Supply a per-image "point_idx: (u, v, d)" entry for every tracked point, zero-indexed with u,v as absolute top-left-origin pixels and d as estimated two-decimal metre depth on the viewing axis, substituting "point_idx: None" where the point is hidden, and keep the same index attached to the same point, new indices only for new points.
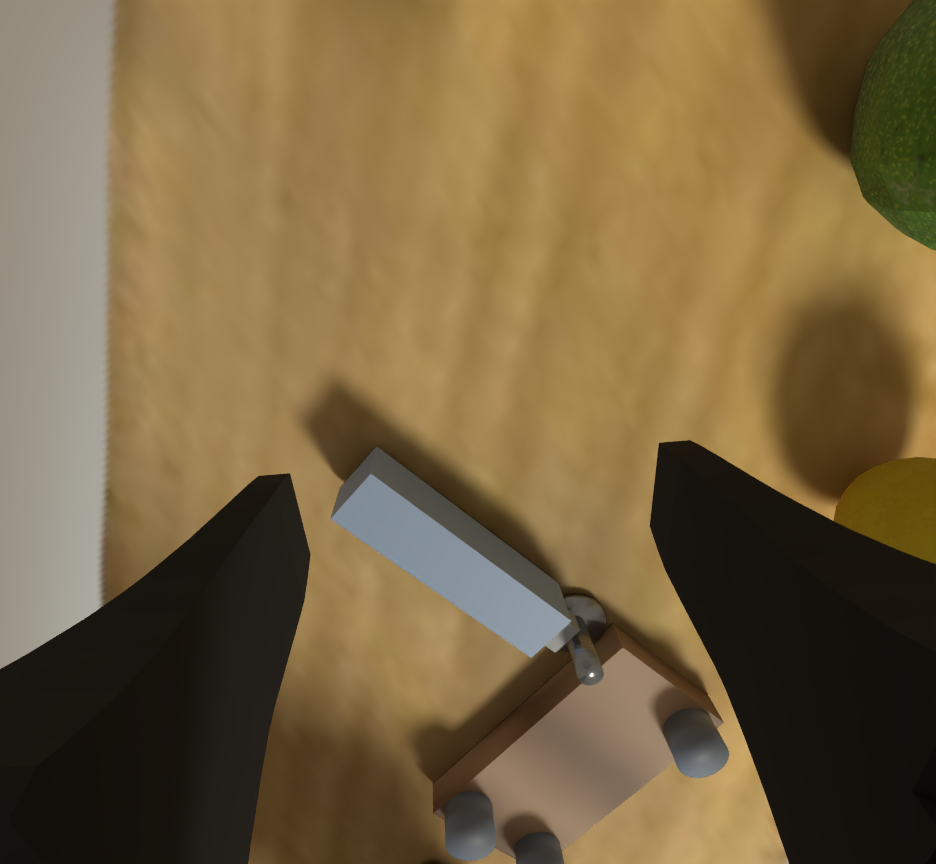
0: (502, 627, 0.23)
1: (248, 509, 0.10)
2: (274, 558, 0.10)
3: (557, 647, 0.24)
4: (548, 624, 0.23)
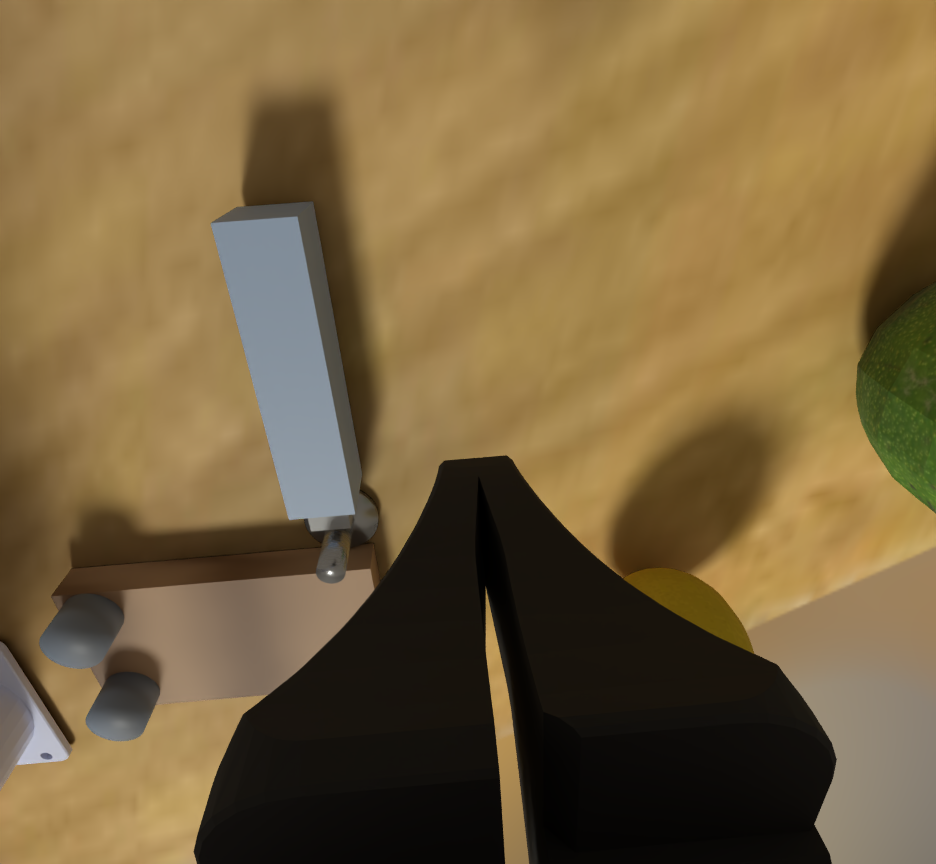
0: (287, 472, 0.19)
1: (463, 491, 0.10)
2: (480, 540, 0.10)
3: (317, 528, 0.21)
4: (332, 501, 0.20)
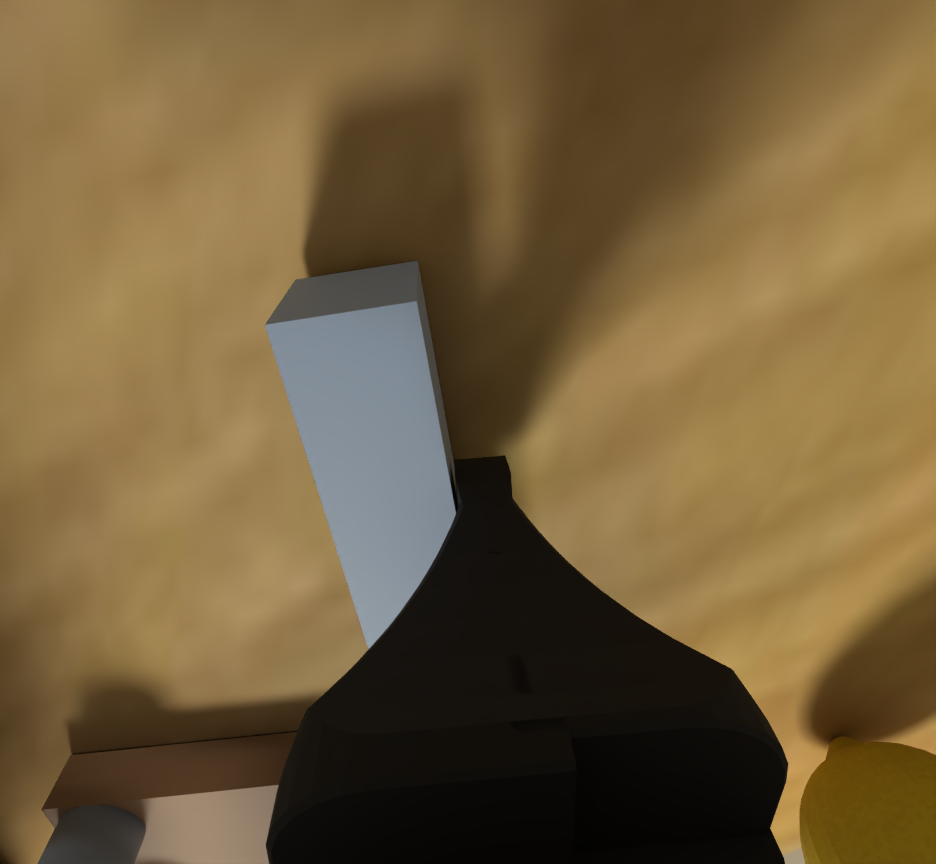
0: None
1: (497, 488, 0.10)
2: None
3: None
4: None
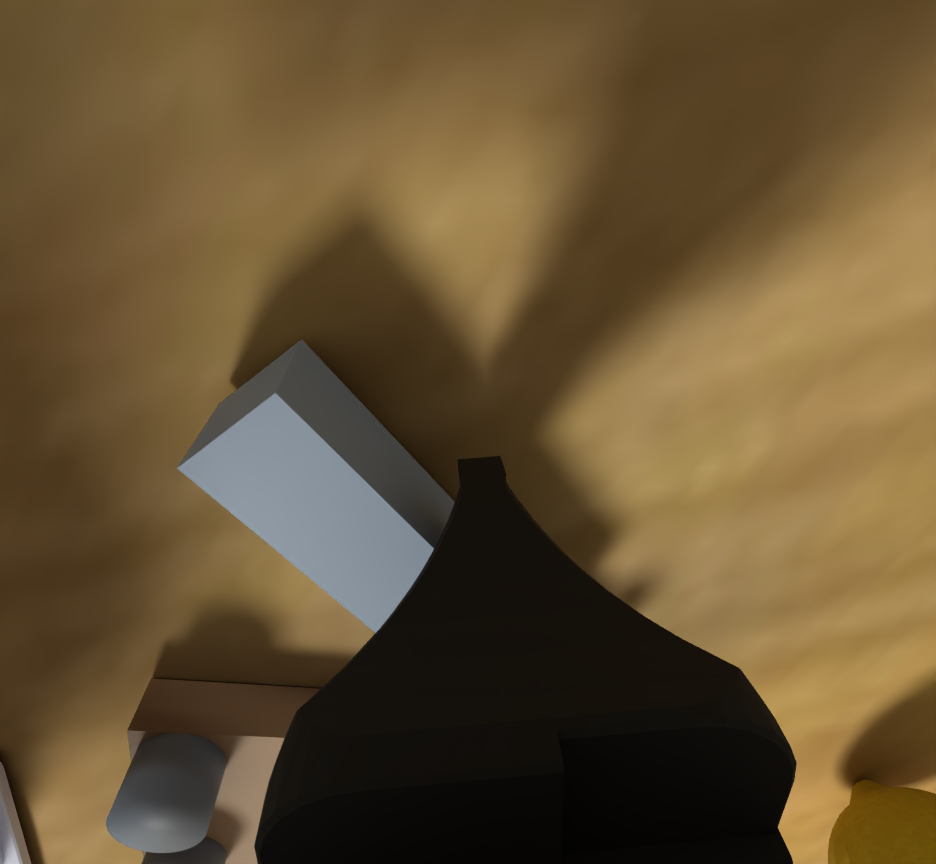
0: None
1: (491, 489, 0.10)
2: None
3: None
4: None
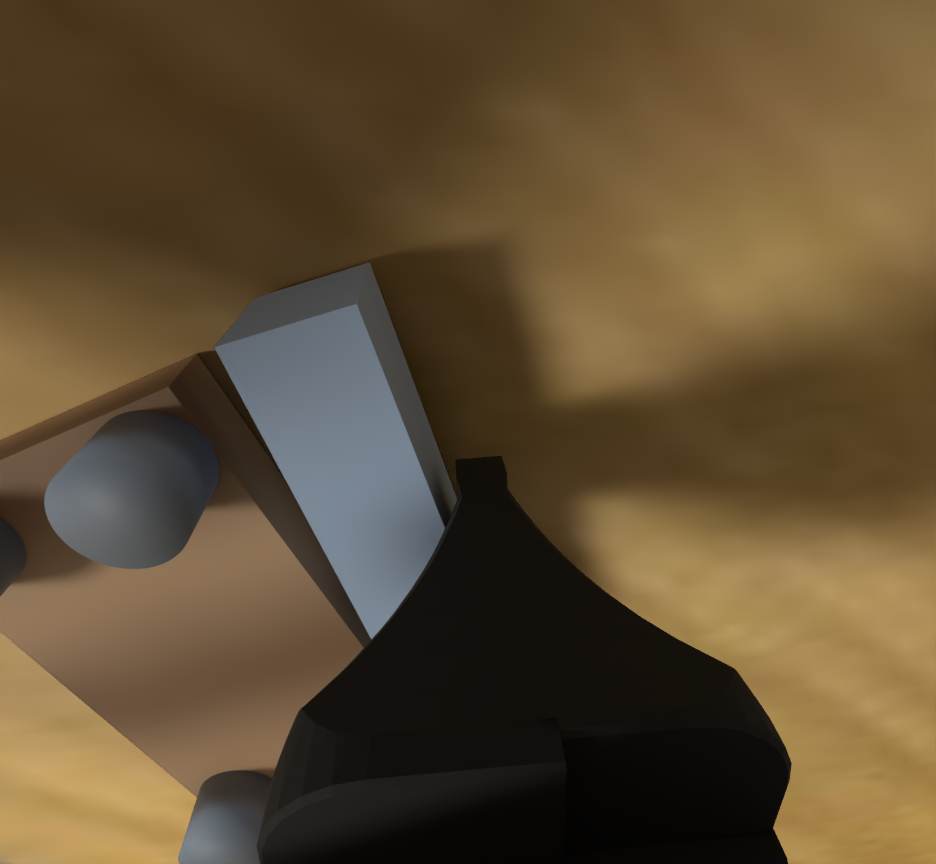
0: None
1: (493, 488, 0.10)
2: None
3: None
4: None
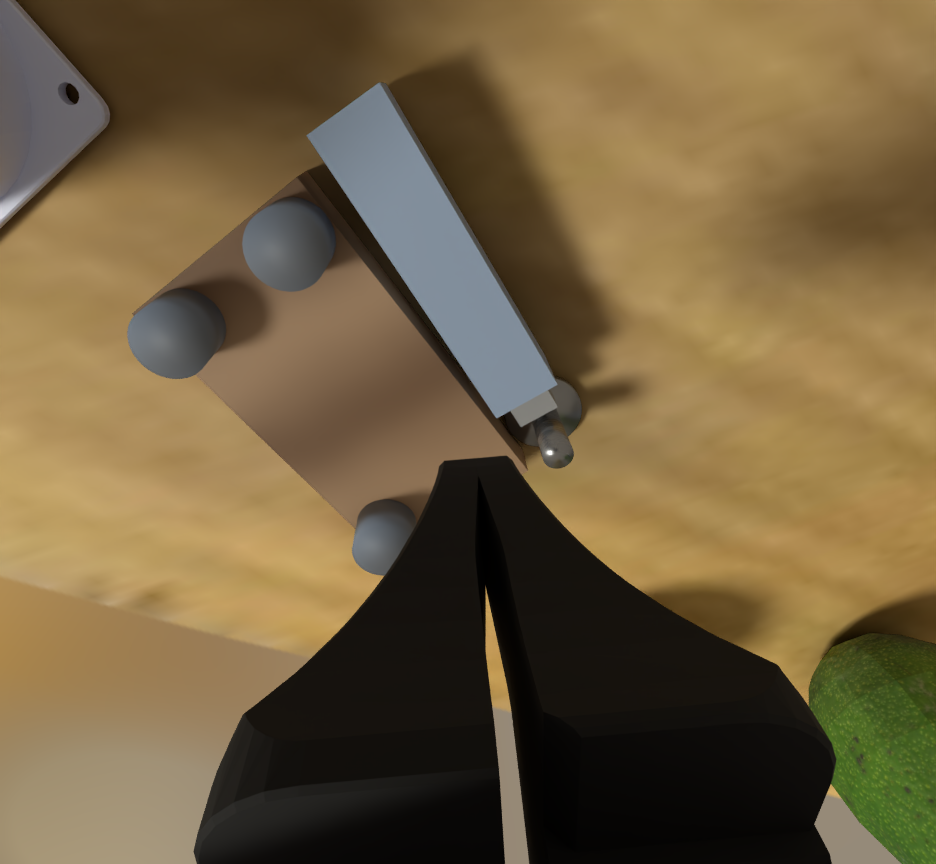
0: (475, 368, 0.18)
1: (463, 491, 0.10)
2: (480, 541, 0.10)
3: (525, 421, 0.20)
4: (530, 380, 0.19)
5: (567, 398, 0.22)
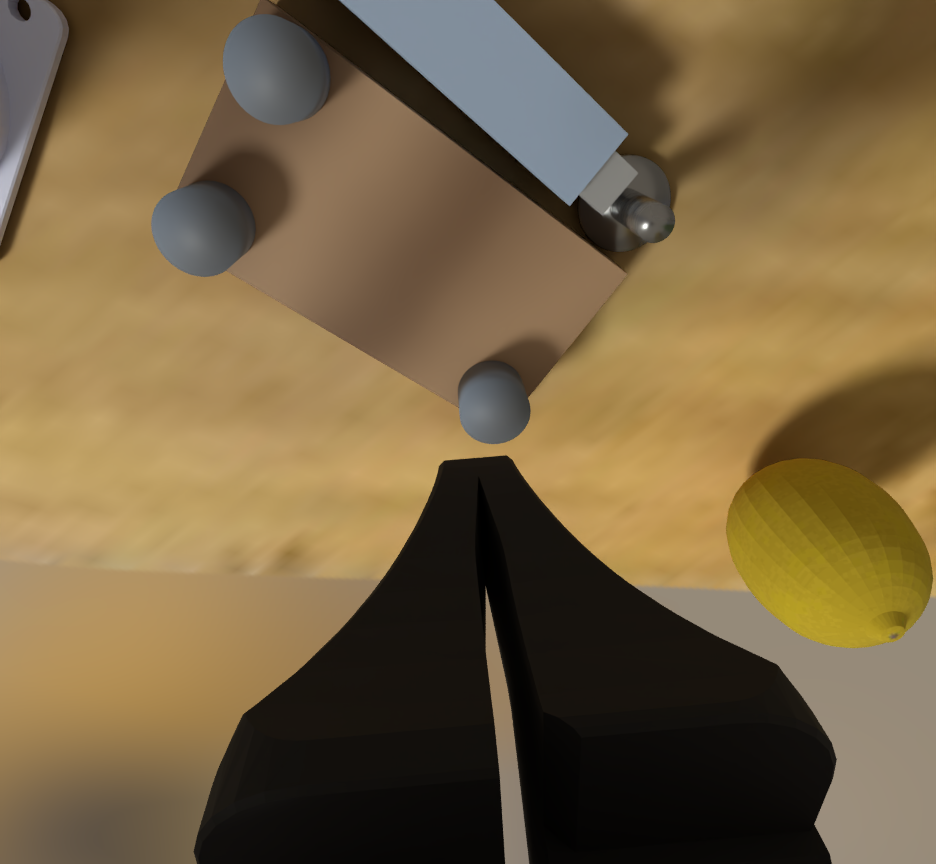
0: (526, 148, 0.15)
1: (463, 491, 0.10)
2: (480, 540, 0.10)
3: (605, 205, 0.17)
4: (594, 141, 0.15)
5: (647, 175, 0.18)
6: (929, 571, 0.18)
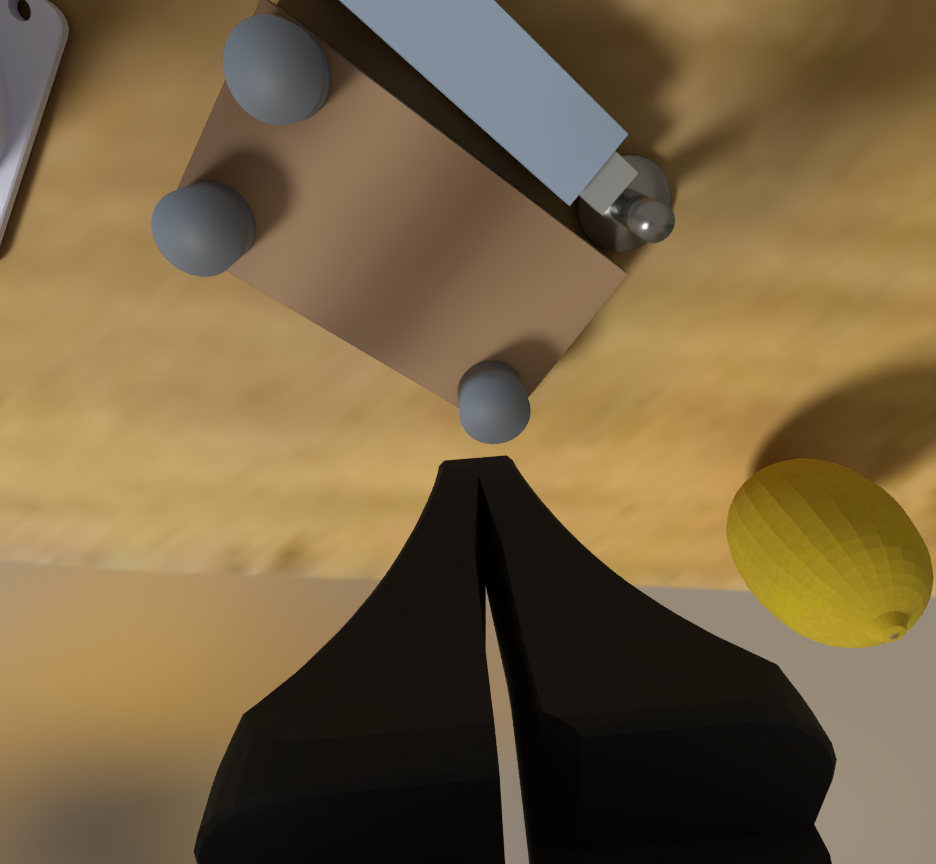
0: (526, 148, 0.15)
1: (463, 491, 0.10)
2: (480, 540, 0.10)
3: (605, 205, 0.17)
4: (594, 141, 0.15)
5: (647, 175, 0.18)
6: (930, 571, 0.18)
